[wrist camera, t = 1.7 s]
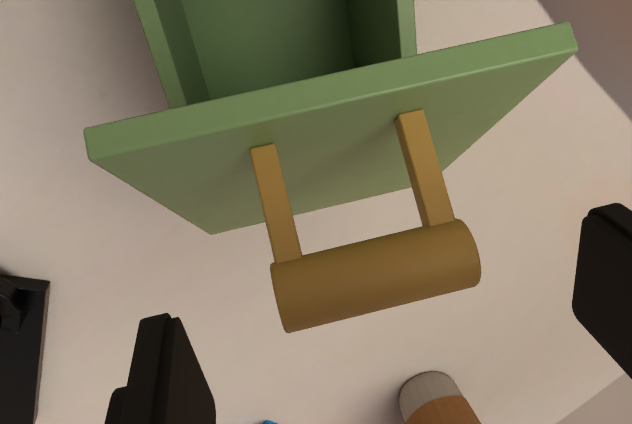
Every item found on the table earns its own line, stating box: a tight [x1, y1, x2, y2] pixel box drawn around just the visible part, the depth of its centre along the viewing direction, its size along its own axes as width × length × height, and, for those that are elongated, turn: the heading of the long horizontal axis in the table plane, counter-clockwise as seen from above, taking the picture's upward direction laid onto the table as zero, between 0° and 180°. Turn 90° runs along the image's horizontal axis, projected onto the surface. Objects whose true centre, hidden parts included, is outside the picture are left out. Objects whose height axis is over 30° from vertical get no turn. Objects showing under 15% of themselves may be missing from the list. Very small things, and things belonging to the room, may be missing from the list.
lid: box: [84, 22, 578, 333], centre depth 18 cm, size 14×12×6 cm
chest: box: [133, 0, 417, 109], centre depth 28 cm, size 14×12×12 cm
